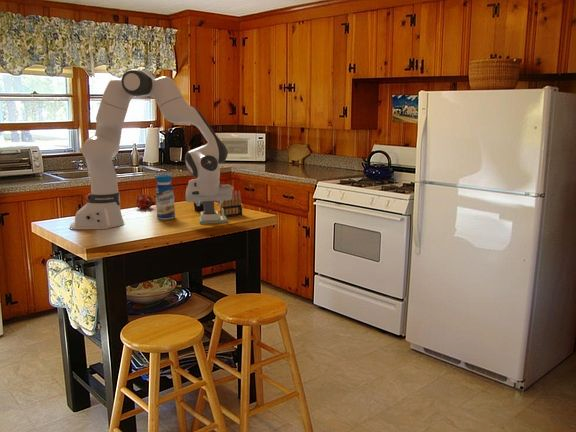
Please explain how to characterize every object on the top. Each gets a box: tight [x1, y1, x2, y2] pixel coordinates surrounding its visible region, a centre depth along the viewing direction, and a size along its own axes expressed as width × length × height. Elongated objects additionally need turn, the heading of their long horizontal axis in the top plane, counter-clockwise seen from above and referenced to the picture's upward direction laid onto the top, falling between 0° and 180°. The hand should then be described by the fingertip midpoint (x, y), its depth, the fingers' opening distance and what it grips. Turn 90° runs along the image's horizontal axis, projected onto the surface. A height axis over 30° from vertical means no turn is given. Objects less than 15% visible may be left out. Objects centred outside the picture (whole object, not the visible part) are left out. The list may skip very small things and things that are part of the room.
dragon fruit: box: [135, 192, 156, 211], centre depth 281 cm, size 8×8×12 cm
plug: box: [203, 201, 215, 215], centre depth 248 cm, size 4×4×9 cm
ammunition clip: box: [219, 190, 243, 218], centre depth 259 cm, size 11×2×12 cm, turn 123°
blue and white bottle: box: [154, 173, 176, 221], centre depth 256 cm, size 8×8×20 cm
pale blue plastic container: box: [198, 208, 228, 225], centre depth 249 cm, size 12×10×5 cm
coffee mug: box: [193, 201, 204, 212], centre depth 274 cm, size 12×9×10 cm
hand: (208, 204), depth 249 cm, fingers open, 8 cm apart
